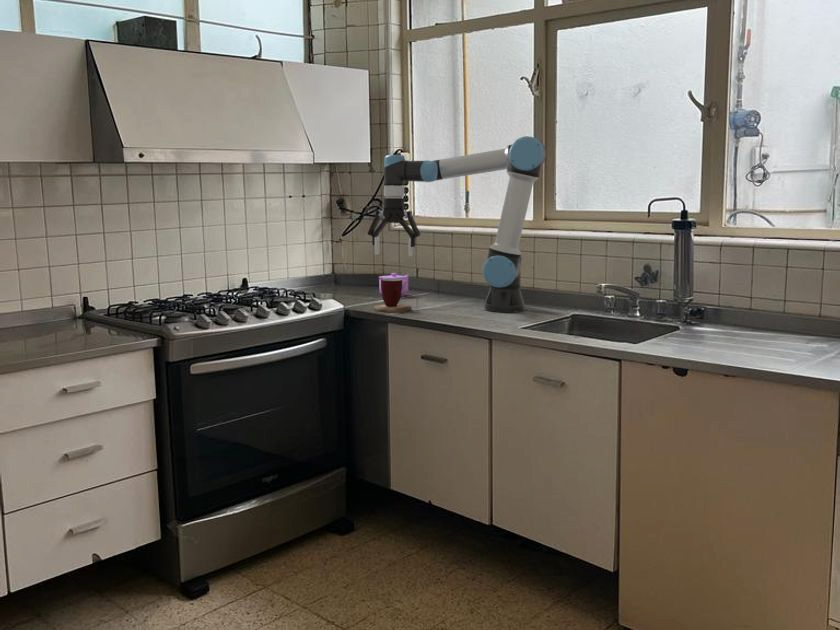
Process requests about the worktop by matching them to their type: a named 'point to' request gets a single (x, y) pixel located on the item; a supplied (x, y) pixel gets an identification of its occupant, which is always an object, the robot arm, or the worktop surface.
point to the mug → (391, 291)
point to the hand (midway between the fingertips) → (393, 255)
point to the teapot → (404, 278)
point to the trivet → (393, 308)
